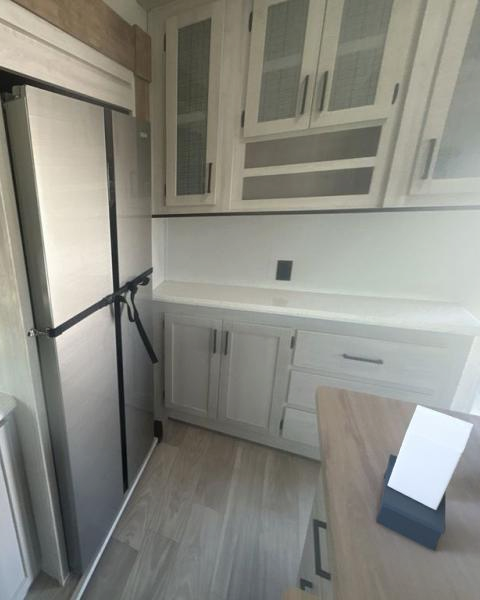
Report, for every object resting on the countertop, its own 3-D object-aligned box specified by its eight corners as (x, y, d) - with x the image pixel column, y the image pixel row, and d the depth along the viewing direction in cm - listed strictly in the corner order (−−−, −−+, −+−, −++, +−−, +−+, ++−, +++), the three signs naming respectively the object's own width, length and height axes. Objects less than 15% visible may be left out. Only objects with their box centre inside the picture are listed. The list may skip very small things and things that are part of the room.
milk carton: (436, 511, 62) (470, 434, 55) (386, 486, 68) (413, 413, 61) (443, 488, 66) (476, 414, 59) (396, 466, 72) (421, 396, 64)
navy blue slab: (383, 472, 77) (390, 453, 75) (436, 495, 71) (445, 475, 69) (374, 521, 67) (382, 500, 65) (435, 551, 62) (445, 530, 59)
